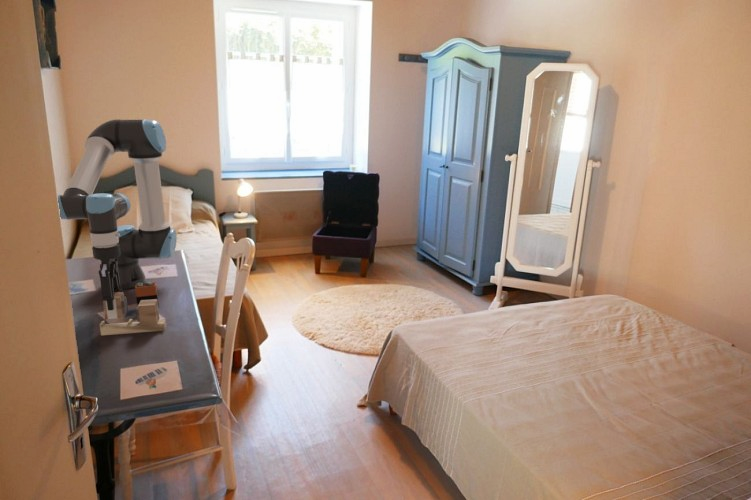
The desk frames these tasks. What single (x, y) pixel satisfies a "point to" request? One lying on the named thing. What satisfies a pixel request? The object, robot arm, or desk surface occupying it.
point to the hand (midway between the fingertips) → (114, 314)
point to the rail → (145, 318)
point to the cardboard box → (118, 305)
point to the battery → (146, 291)
